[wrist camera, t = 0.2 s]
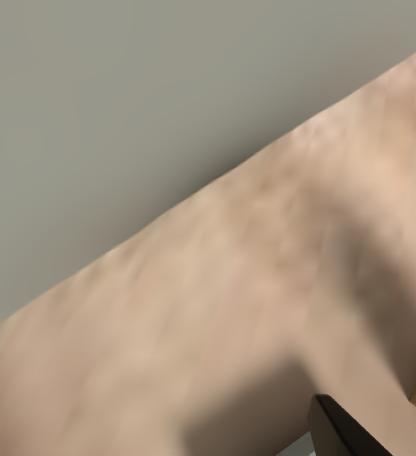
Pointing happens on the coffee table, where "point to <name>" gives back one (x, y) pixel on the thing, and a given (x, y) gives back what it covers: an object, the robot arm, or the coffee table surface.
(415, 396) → the post
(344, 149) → the coffee table surface
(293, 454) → the shallow rimmed tray
